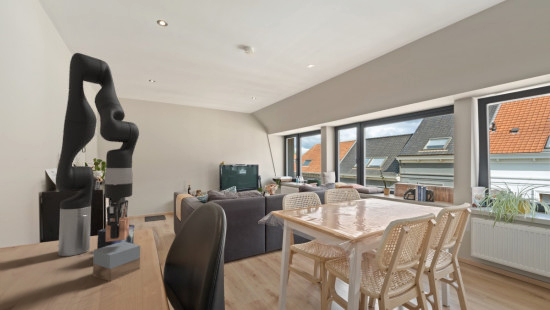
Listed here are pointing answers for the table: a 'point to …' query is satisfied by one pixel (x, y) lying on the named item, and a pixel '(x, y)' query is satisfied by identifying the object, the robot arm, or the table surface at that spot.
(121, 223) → the terracotta block
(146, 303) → the table surface
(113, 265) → the tower top
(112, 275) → the tower base
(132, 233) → the small box
